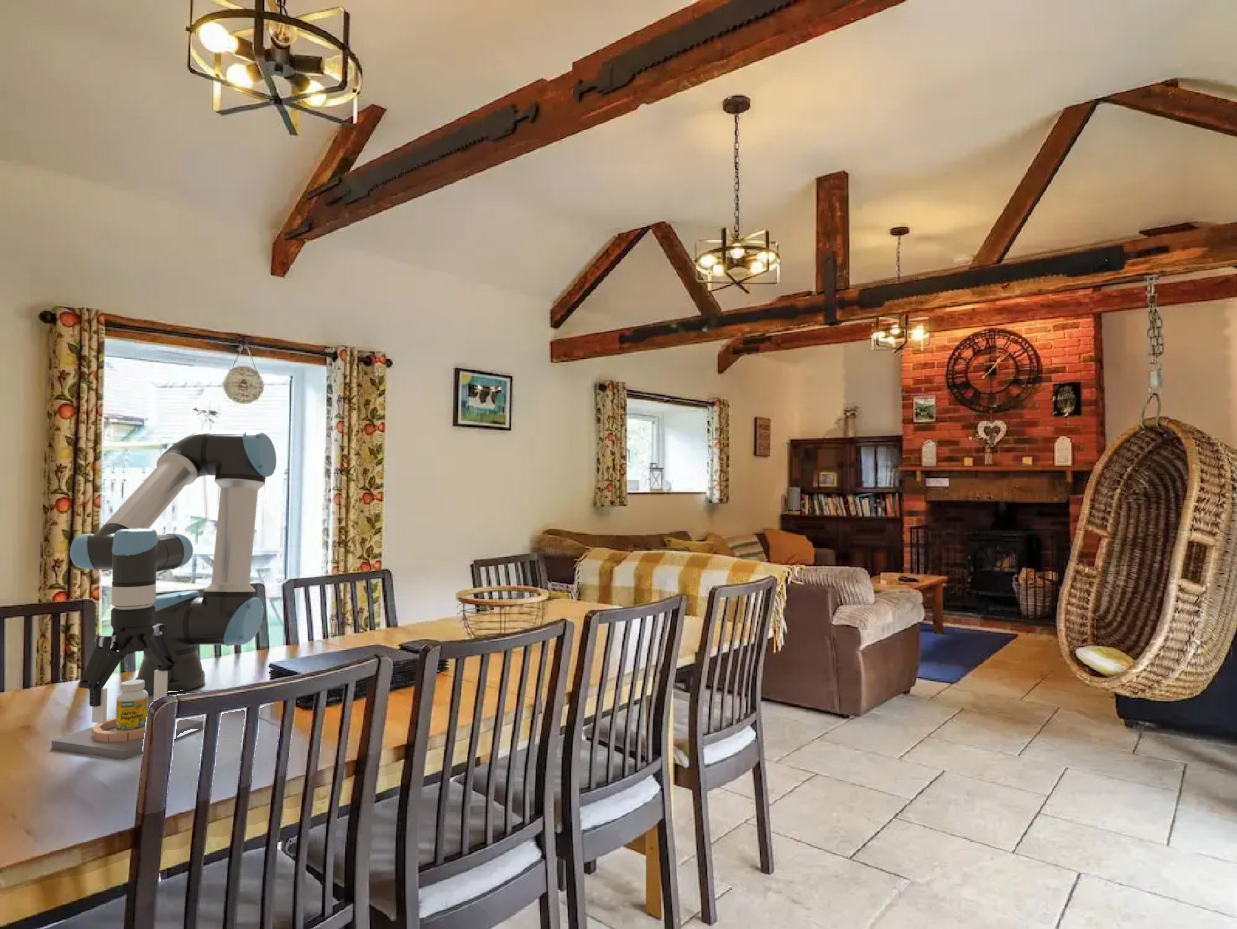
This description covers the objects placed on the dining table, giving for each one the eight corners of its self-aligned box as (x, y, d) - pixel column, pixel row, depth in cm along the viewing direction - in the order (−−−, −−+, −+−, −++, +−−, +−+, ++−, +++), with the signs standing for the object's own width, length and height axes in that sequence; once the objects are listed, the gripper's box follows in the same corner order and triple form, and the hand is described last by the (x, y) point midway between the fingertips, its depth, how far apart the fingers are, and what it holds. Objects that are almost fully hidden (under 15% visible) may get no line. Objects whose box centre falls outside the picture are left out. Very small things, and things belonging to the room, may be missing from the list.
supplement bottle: (146, 723, 154) (148, 677, 154) (147, 731, 149) (149, 683, 150) (115, 728, 151) (117, 680, 151) (115, 736, 146) (117, 687, 147)
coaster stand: (135, 719, 161) (135, 705, 161) (202, 728, 156) (203, 713, 156) (51, 748, 144) (52, 732, 144) (124, 759, 139) (125, 743, 139)
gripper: (171, 595, 163) (168, 692, 163) (57, 615, 139) (54, 729, 139) (199, 597, 161) (196, 696, 161) (88, 618, 137) (85, 734, 137)
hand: (131, 711), depth 150 cm, fingers open, 13 cm apart
